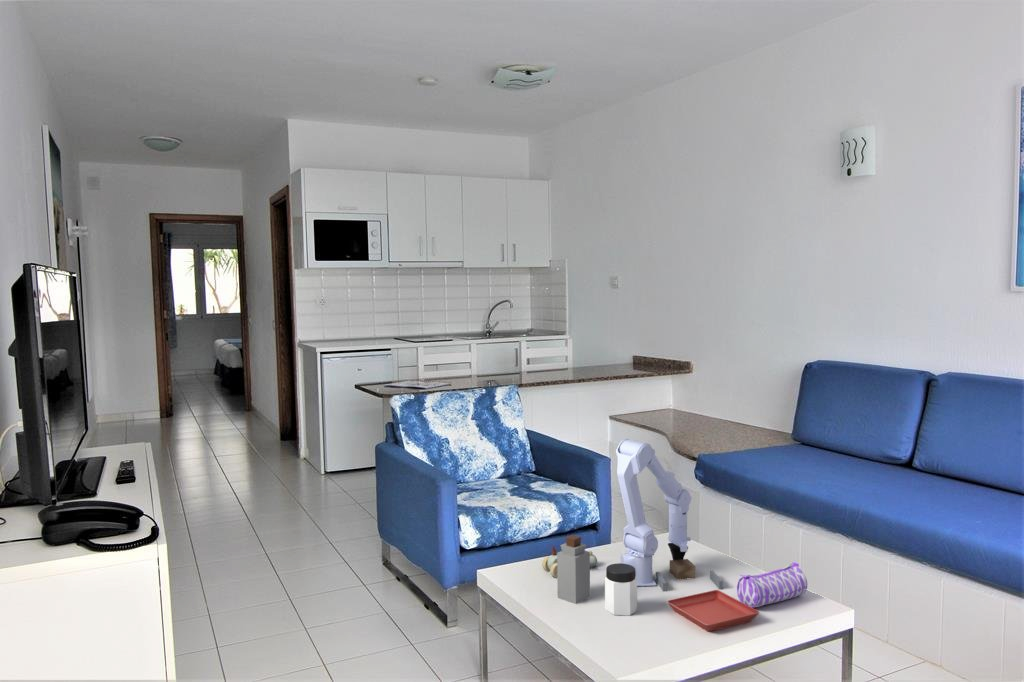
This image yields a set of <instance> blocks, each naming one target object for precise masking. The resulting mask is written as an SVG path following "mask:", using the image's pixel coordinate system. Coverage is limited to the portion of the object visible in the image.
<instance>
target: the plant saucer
mask: <svg viewBox="0 0 1024 682" xmlns="http://www.w3.org/2000/svg"><path fill="white" fill-rule="evenodd" d="M666 602H667V604H668V605H669V607H670V608H671V609H672V611H674V612H675V613H677V615H679V616H681V617H683V618H684V619H686V620H687V621H689V622H691V623H692V624H694V625H696V626H697V627H699V628H701V629H703V630H704V631H706V632H713V631H714V632H715V631H717V630H721V629H724V628H725V629H726V628H729V627H733V626H737V625H742V624H746V623H749V622H752V620H754V619H755V618H756V617H757V616H758V615H759V614H760V611H759V610H758V609H755V607H754V608H752V607H750V606H748V605H746V604H744V603H742V602H741V601H740V600H738V599H736V598H735V597H733V596H730V595H728V594H726V593H725V592H723V591H721V590H720V589H713V590H709V591H705V592H701V593H696V594H691V595H687V596H682V597H677V598H673V599H669V600H667V601H666Z"/></svg>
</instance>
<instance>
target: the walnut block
mask: <svg viewBox="0 0 1024 682" xmlns="http://www.w3.org/2000/svg"><path fill="white" fill-rule="evenodd" d="M669 573H671V574H672V576H673V578H674V579H676V580H677V579H679V580H688V579H687V578H691V579H696V565H695V564H694V563H693V562H692V561H691V560H689V558H684V559H681V560H673V559H671V560H670V559H669ZM671 574H670V575H671Z"/></svg>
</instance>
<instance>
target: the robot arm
mask: <svg viewBox="0 0 1024 682" xmlns="http://www.w3.org/2000/svg"><path fill="white" fill-rule="evenodd" d="M615 455H616V459H617V464H616V465H617V467H616V474H617V480H618V484H619V489H620V494H621V497H622V503H623V507H624V513H625V517H626V521H627V522H626V523H627V524H626V525H625V526H624V527H623V530H622V531H623V538H622V542H623V545H624V547H625V548H626V553H622V554H621V556H620V563H621V564H628V565H631V566H633V567H634V568H635V572H636V576H635V577H636V578H637V587H652V586H654V587H656V586H657V582H655V581H656V580H654V578H653V556H655V554H656V552H657V550H658V548H659V541H658V538H657V537H656V536H655V533H654V530H653V529H652V528H651V526H650V525H649V524H648V523H647V519H646V516H645V510H644V506H643V501H642V497H641V492H640V489H639V488H640V487H639V483H638V478H637V476H638V474H641V473H642V471H643V470H644V469H645V468H647V469H648V470H649V471H650V472H651V474H652V475H653V476H654V477H656V479H655V483H656V485H657V486H658V488H659V489H660V490H661V491H662V493H663V495H664V496H663V497H664V501H665V502H667V503H668V537H667V541H668V542H669V543H667V546H668V548H669V549H670V553H671V557H672V558H671V559H672V560H681V559H685V556H686V553H687V552H688V550H689V546H688V542H690V541H691V540H692V539H691V537H690V536H688V513H689V508H690V504H691V502H692V496H691V494H690V492H689V491H688V489H686V488H683V487H682V484H681V482H679V481H678V480H677V479H676V477H675V473H674V472H671V471H668V470H666V469H665V468H664V466H663V464H662V463H661V462H660V460H659V459H658V458H657V456H656V451H655V449H654V448H653V446H652V445H651V444H650V443H649V442H648V443H647V442H639V441H636V440H631V439H630V438H624V439H621V441H620V442H619V444H618V445H617V447H616V449H615Z"/></svg>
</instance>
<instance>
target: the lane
mask: <svg viewBox="0 0 1024 682" xmlns="http://www.w3.org/2000/svg"><path fill="white" fill-rule="evenodd" d="M709 579H710V580H711V581H712V582H713V584H714V585H715V586H716V587H717V589H718V590H723V580H722V579H721V578H720V576H719V575H718V574H717V573H716V572H715V570H714V569H710V570H709ZM655 581H656V583H657V582H658V583H657V584H658V586H659V585H660V586H659V587H660V589H661V591H662V592H667V582H666V580H665V579H664V577H663V576H662V574H661V572H660V571H656V572H655Z"/></svg>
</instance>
